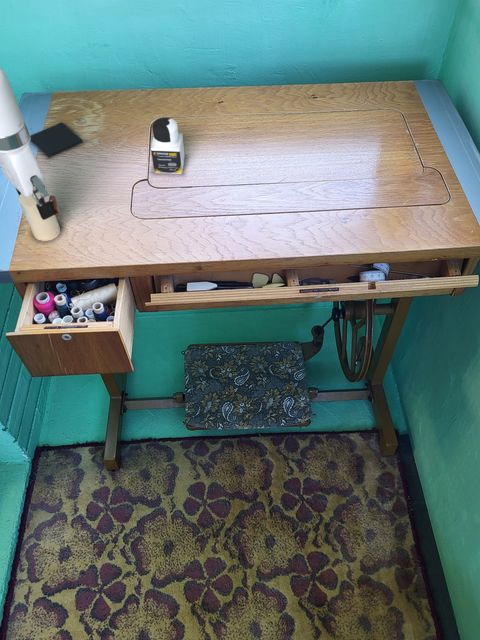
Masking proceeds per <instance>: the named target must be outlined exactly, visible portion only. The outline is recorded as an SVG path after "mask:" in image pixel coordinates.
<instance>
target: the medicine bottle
mask: <svg viewBox="0 0 480 640" xmlns="http://www.w3.org/2000/svg"><path fill="white" fill-rule="evenodd" d="M151 128H152V134H153V137H152V142H151V147H150V153H151V161H152V167H153V172H154V173H155V174H173V175H174V174H175V175H176V174H177V175H182V174H183V173H184V172H183V171H184V165H185V158H186V157H185V146H184V136H183V133H182V132H179V125H178V123H177V121H176V120H174V119H173V118H170V117H160V118H157V119H155V120H154V121H153V123H152V124H151Z"/></svg>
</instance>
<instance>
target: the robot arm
mask: <svg viewBox="0 0 480 640" xmlns="http://www.w3.org/2000/svg"><path fill="white" fill-rule="evenodd" d="M30 136H31V135H30V133H29V130H28V127H27V124H26V122H25V119H24V117H23V114H22V111H21V109H20V106H19V104H18V101H17V99H16V96H15V94H14V91H13V88H12V85H11V84H10V81H9V78H8V76H7V73H6V72H5V70H4V69H3V68H2V67H1V66H0V167H1V171H2V172H3V175H4V176H5V178H6V179H7V180H8V182H9V183H11V185H12V186H13V187H14V188H15V190H16V192H17V194H18V197H19V196H20V194H21V193H22V194H23V195H24V196H26V197H29V196H31V195H32V196H33V198H34V200H35V201H36V203H37V204H36V206H37V209H38V211H39V213H40V216H41V218H42V219H43V220H45V219H47V218H49V217H51V216H53V215H55V214H56V211H55V208H54V206H53V203H52V200H51V198H50V196H51V195H50V193H49V191H48V190H47V189H46V188H47V183H46V180H45V176H44V175H43V172H42V169H41V167H40V165H39V163H38V161H37V159H36V156H35V153H34V152H33V150H32V148H31V146H30V142H31V137H30ZM33 188H36V190H34V191H33ZM38 192H39V193H40V195H41V198H40V199H38V197H37V196H36V193H38Z"/></svg>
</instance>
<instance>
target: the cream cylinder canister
mask: <svg viewBox="0 0 480 640" xmlns="http://www.w3.org/2000/svg"><path fill="white" fill-rule="evenodd" d="M34 190H36V188H35V187H33V191H34ZM36 196H37V197H38V199H40V198H41V195H40V193H39V192H38V193H36ZM49 196H50V198H51V200H52V203H53V206H54V208H55V211H56V214H55V215H53V216H51V217H49V218H47V219H45V220H43V219H42V218H41V216H40V213H39V211H38V209H37V206H36V204H37V203H36V201H35V200H34V198H33V196H32V195H31V196H29V197H26V196H24V195H23V194H22V193H21V194H20V196H19V195H18V198H17V199H18V200H17V201H18V204H19V206H20V208H21V210H22V212H23V214H24V217H25V219H26V222H27V223H28V225H29V227H30V230H31V232H32V235H33V237H34V238H35V239H36V240H39V241H41V242H47V241H52V240H54V239H56V238H57V237H58V236H59V235H60V233H61V227H60V223H59V222H58V219H57V217H59V216H60V215H61V209H60V207H59V203H58V202H57V198H56V196H55V195H49Z"/></svg>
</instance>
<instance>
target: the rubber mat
mask: <svg viewBox="0 0 480 640" xmlns="http://www.w3.org/2000/svg"><path fill="white" fill-rule="evenodd" d="M30 137H31V140H30V142H31V143H33V144H34V145H35V146H36V147H37V148H38V150H40V151H41V152H42V153H44V155H45V156H46V157H48V158H51V157H54V156H56V155H57V154H61V153H63V152H64V151H67V150H69V149H72V148H73V147H77V146H78V145H80V144H82V143H83V140H82V139H81V138H80V137H79V135H77V134H76V133H75V132H74V131H73V130H71V129H70V128H69V127H68V126H67V125H66V124H64V123H63V122H59V123H57V124H55V125H52V126H50V127H48V128H45V129H43V130H41V131H38V132H36V133H34V134H32V135H30Z"/></svg>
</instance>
